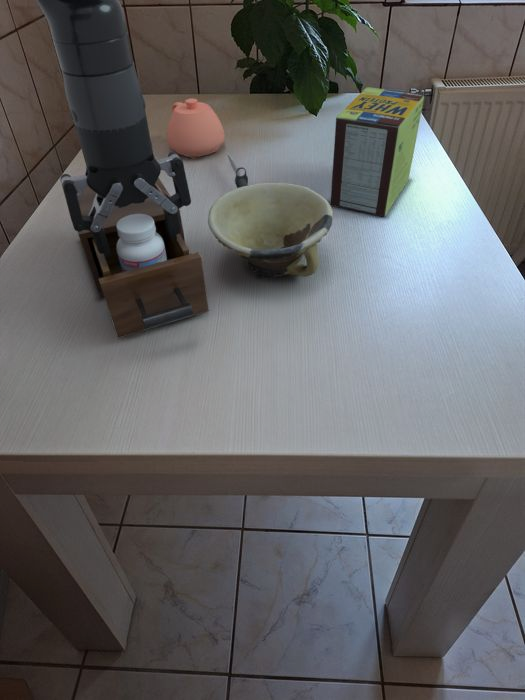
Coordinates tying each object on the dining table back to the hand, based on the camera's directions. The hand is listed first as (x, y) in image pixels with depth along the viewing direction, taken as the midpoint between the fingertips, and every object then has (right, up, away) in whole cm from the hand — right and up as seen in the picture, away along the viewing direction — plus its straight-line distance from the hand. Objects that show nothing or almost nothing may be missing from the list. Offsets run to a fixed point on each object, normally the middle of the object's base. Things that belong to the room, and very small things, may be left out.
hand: (140, 245), depth 64 cm
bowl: (+17, -1, +13) cm, 22 cm away
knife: (+11, +18, +32) cm, 38 cm away
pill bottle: (0, -6, +6) cm, 8 cm away
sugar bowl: (+1, +30, +45) cm, 54 cm away
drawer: (+1, -7, +6) cm, 9 cm away
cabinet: (-5, +1, +16) cm, 17 cm away
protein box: (+36, +16, +29) cm, 48 cm away
